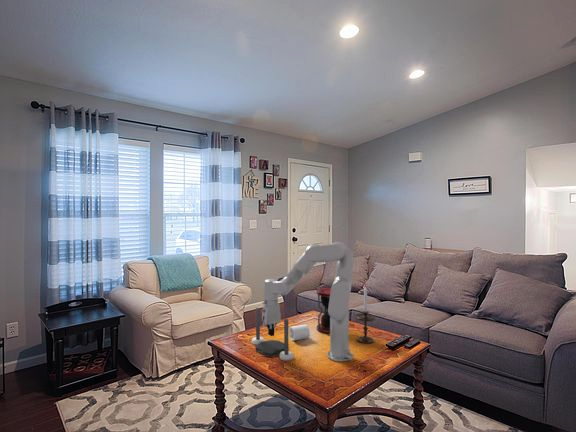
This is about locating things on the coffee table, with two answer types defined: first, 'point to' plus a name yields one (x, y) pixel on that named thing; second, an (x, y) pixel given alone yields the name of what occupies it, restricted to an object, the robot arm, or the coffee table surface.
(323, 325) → the hourglass
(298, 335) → the mug
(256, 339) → the far cord post
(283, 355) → the post
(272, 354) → the media streaming box
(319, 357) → the coffee table surface
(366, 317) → the candlestick
